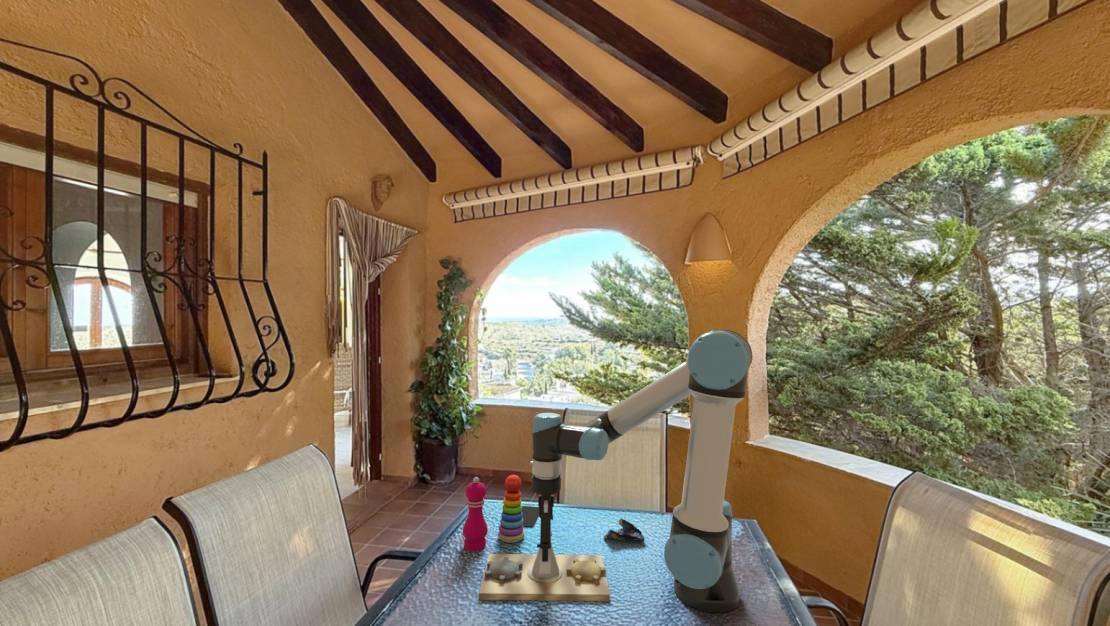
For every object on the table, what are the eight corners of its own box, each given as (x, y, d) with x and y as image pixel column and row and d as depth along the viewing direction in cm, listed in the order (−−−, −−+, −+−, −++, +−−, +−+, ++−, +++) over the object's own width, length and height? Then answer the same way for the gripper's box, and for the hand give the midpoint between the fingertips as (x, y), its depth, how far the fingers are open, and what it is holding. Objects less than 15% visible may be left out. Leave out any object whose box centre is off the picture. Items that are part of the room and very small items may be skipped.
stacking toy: (520, 545, 133) (521, 481, 133) (494, 542, 135) (495, 479, 135) (527, 533, 141) (528, 472, 141) (502, 530, 142) (503, 470, 143)
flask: (535, 581, 112) (536, 541, 112) (528, 566, 119) (528, 528, 119) (563, 577, 114) (564, 536, 114) (554, 562, 121) (555, 524, 121)
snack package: (611, 527, 146) (599, 542, 136) (614, 508, 146) (603, 521, 136) (647, 542, 141) (638, 558, 131) (651, 522, 141) (642, 537, 131)
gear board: (601, 560, 125) (601, 550, 125) (609, 601, 107) (609, 589, 107) (489, 559, 125) (489, 549, 125) (478, 599, 107) (478, 588, 107)
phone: (510, 524, 146) (521, 505, 161) (510, 527, 146) (521, 507, 161) (533, 526, 145) (542, 507, 159) (533, 529, 145) (542, 509, 159)
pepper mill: (490, 549, 130) (491, 479, 131) (464, 554, 128) (466, 482, 128) (484, 538, 137) (485, 471, 137) (460, 542, 134) (461, 474, 135)
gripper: (533, 459, 129) (532, 535, 129) (529, 492, 104) (528, 586, 104) (560, 460, 129) (559, 535, 129) (562, 493, 104) (560, 586, 104)
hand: (545, 558), depth 116 cm, fingers open, 13 cm apart
